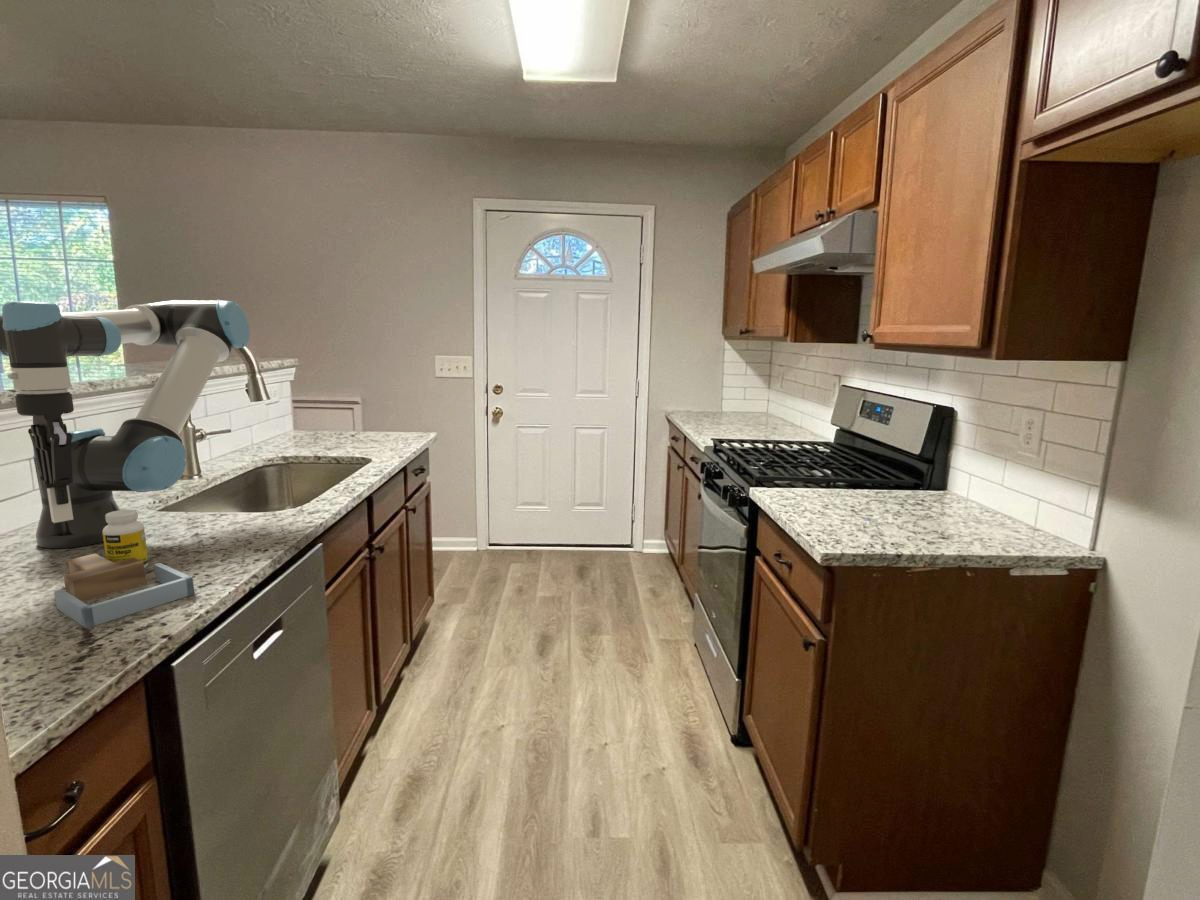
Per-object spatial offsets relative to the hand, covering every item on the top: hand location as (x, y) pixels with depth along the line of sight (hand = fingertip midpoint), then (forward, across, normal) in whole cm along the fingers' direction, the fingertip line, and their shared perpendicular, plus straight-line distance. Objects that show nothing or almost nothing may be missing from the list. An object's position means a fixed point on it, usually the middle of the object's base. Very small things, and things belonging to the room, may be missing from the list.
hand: (62, 520), depth 113 cm
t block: (+10, +12, 0) cm, 15 cm away
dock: (+10, +24, 0) cm, 26 cm away
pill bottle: (+10, +8, +6) cm, 14 cm away
